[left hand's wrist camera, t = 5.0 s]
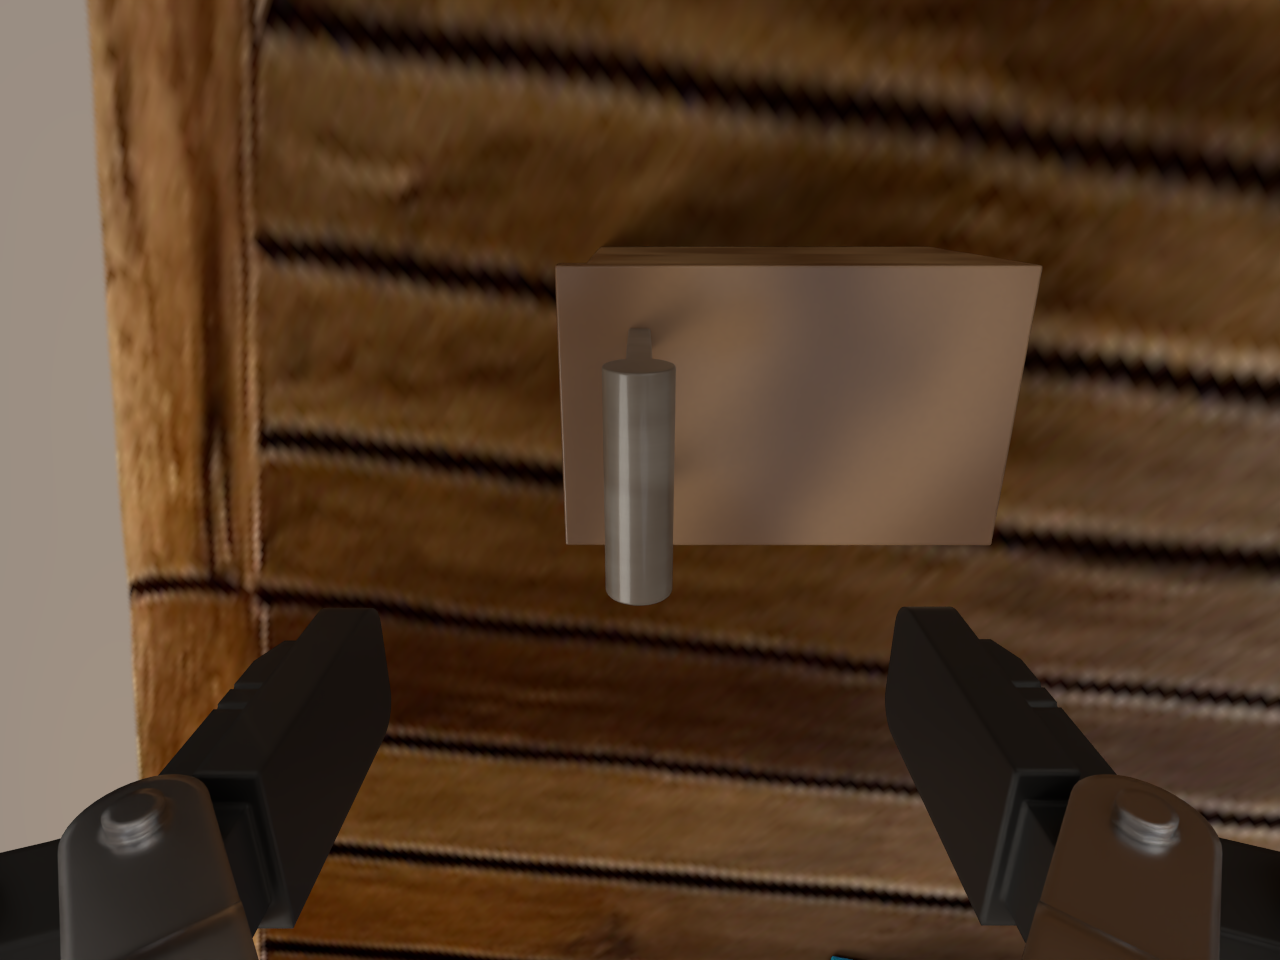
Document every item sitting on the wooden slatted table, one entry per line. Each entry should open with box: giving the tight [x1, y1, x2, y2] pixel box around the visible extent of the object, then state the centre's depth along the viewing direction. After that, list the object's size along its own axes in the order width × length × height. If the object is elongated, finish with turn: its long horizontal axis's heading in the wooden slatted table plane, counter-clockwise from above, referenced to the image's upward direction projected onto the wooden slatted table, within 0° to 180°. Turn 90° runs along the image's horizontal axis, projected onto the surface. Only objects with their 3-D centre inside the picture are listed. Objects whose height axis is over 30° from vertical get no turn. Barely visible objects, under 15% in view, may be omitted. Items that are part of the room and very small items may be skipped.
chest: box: [587, 247, 1024, 263], centre depth 29 cm, size 14×10×9 cm
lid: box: [555, 263, 1042, 605], centre depth 21 cm, size 15×10×8 cm, turn 90°
